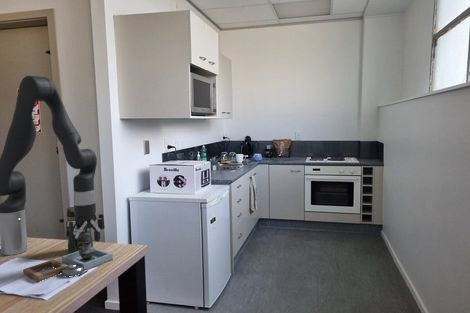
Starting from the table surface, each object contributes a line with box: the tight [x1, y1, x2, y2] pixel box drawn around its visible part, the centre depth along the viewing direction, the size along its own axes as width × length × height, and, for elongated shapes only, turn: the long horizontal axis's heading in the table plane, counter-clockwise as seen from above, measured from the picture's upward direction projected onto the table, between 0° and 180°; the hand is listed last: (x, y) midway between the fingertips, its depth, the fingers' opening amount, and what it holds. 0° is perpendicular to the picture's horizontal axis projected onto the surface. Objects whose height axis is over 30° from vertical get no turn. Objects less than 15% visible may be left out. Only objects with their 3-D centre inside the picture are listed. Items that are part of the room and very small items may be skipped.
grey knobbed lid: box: [61, 264, 85, 278], centre depth 121 cm, size 7×7×3 cm
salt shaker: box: [79, 230, 95, 263], centre depth 130 cm, size 6×6×12 cm
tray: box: [61, 247, 114, 272], centre depth 131 cm, size 14×12×2 cm
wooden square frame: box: [22, 259, 69, 283], centre depth 121 cm, size 10×10×2 cm
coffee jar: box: [66, 206, 94, 253], centre depth 143 cm, size 10×8×19 cm
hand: (86, 244), depth 130 cm, fingers open, 8 cm apart
